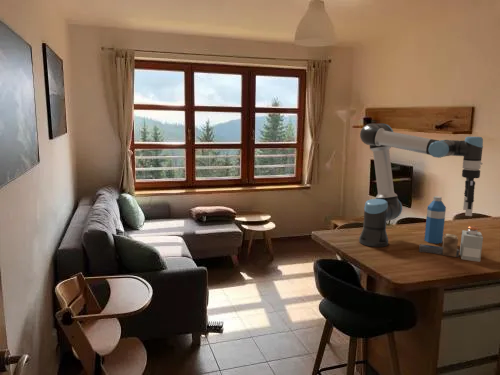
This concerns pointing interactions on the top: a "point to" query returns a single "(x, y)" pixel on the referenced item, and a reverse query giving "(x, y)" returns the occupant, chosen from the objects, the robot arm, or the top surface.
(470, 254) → the white box
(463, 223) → the top surface
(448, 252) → the block
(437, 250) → the rail
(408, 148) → the robot arm
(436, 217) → the water bottle
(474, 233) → the plunger
